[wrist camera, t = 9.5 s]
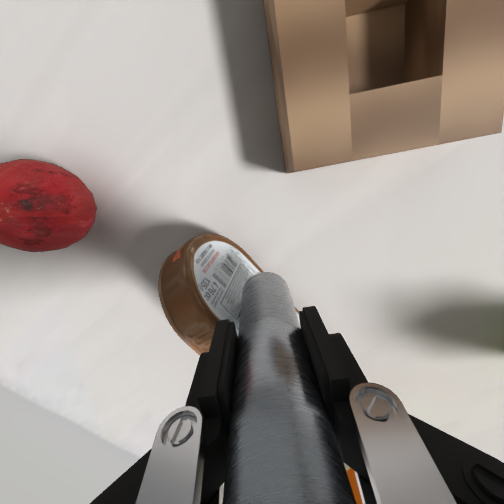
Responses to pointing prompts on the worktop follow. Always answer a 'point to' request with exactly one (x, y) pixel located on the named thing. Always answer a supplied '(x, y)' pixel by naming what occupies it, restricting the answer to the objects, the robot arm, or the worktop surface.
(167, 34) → the worktop surface
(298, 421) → the metal rod
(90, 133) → the worktop surface
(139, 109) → the worktop surface
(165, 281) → the tin
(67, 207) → the onion
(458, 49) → the rod stand
